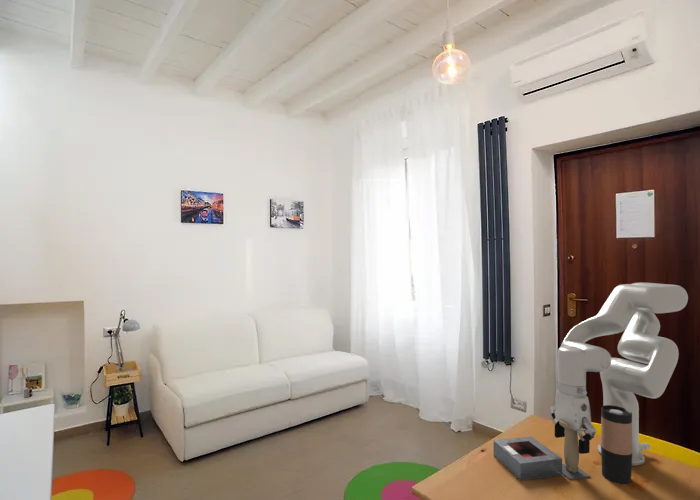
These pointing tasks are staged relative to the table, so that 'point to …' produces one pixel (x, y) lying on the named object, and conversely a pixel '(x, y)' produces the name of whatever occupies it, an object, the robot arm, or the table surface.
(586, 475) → the mat
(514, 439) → the grey shallow box
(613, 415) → the travel mug
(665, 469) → the table surface
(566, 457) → the handle
